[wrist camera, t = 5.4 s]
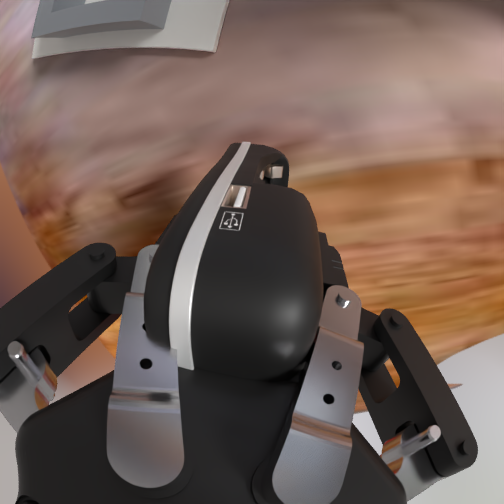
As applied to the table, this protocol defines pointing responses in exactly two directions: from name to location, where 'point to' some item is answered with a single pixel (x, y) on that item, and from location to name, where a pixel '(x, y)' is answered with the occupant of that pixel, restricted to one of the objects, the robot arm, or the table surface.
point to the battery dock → (177, 35)
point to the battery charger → (239, 272)
